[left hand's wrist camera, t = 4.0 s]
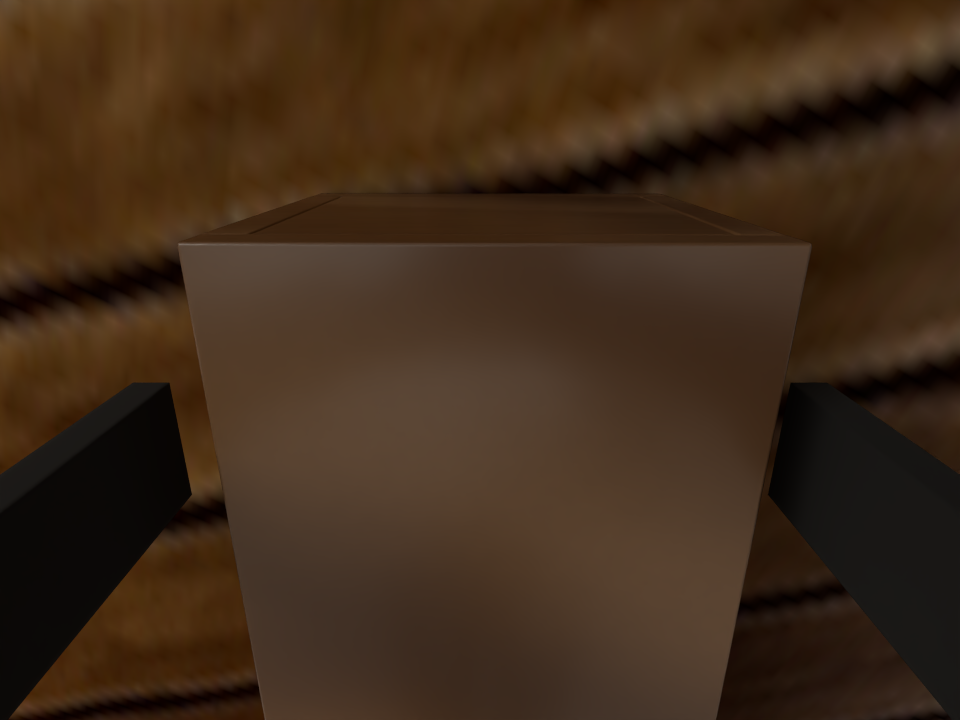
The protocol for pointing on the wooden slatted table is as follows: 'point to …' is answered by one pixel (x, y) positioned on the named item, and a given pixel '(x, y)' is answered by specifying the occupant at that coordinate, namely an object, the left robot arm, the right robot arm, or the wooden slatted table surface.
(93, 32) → the wooden slatted table surface
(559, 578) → the cabinet
